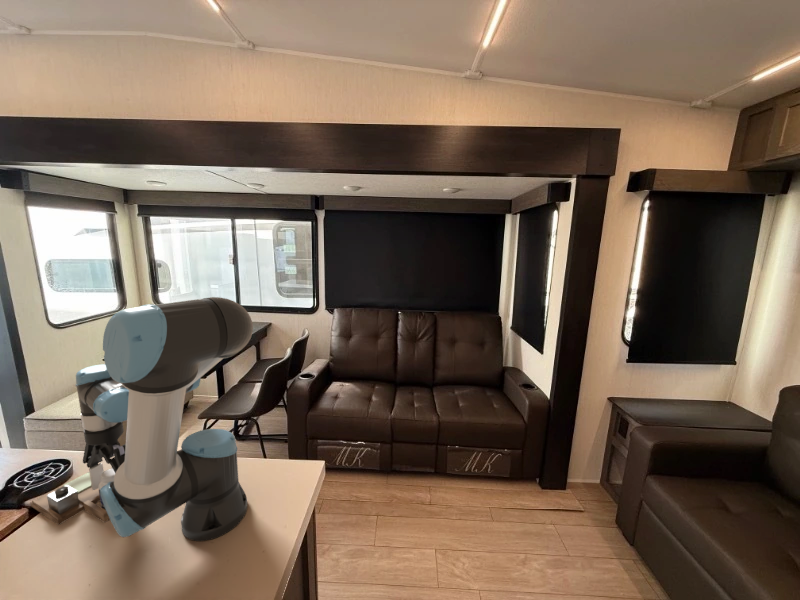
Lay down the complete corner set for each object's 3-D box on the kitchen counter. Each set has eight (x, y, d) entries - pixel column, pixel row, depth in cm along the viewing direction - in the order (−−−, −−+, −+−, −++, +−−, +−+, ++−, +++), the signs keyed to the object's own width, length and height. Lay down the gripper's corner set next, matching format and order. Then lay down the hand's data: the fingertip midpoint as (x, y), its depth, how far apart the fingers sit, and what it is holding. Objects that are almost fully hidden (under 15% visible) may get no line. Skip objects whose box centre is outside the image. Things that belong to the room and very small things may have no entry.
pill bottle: (112, 513, 86) (107, 481, 84) (96, 509, 87) (91, 477, 85) (132, 498, 91) (128, 467, 89) (117, 494, 92) (112, 464, 90)
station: (143, 497, 91) (142, 490, 91) (79, 538, 78) (78, 530, 78) (95, 472, 100) (94, 465, 99) (30, 506, 87) (29, 498, 87)
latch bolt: (79, 503, 87) (76, 487, 86) (59, 515, 83) (56, 498, 82) (69, 497, 89) (66, 481, 88) (49, 508, 85) (46, 491, 84)
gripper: (149, 428, 83) (157, 500, 87) (93, 406, 92) (103, 472, 96) (115, 445, 76) (125, 522, 80) (58, 419, 86) (70, 489, 89)
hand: (113, 494), depth 88 cm, fingers open, 13 cm apart
